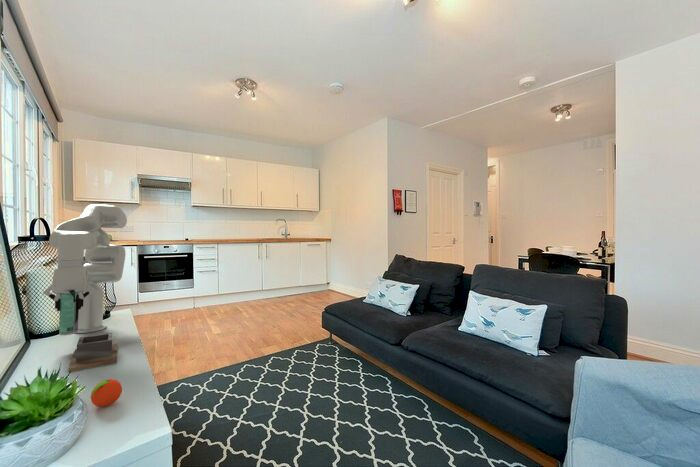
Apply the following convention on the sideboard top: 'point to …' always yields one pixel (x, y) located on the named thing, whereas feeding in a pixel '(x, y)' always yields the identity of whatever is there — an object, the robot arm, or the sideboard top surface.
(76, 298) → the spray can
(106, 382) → the tomato
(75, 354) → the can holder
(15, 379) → the sideboard top surface
